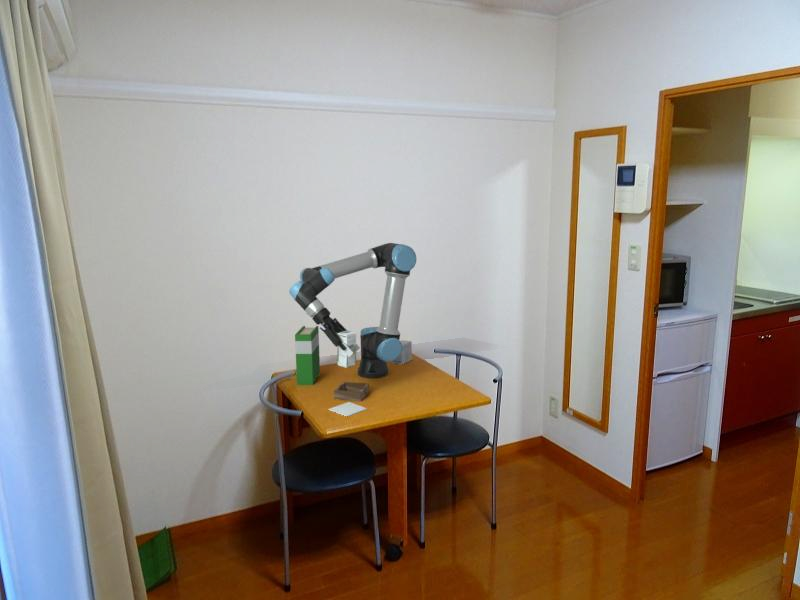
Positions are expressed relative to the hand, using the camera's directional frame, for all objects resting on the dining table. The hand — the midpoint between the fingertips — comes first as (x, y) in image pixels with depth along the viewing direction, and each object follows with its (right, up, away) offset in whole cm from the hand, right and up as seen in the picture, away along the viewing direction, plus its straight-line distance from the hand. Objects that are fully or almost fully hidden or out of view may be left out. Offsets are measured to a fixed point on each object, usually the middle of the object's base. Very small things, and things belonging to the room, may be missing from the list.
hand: (354, 352), depth 241 cm
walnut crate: (-2, -20, +9) cm, 22 cm away
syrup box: (-3, -6, +2) cm, 7 cm away
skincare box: (+20, -11, +59) cm, 63 cm away
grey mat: (-2, -23, -7) cm, 24 cm away
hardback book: (-24, -16, +32) cm, 43 cm away
